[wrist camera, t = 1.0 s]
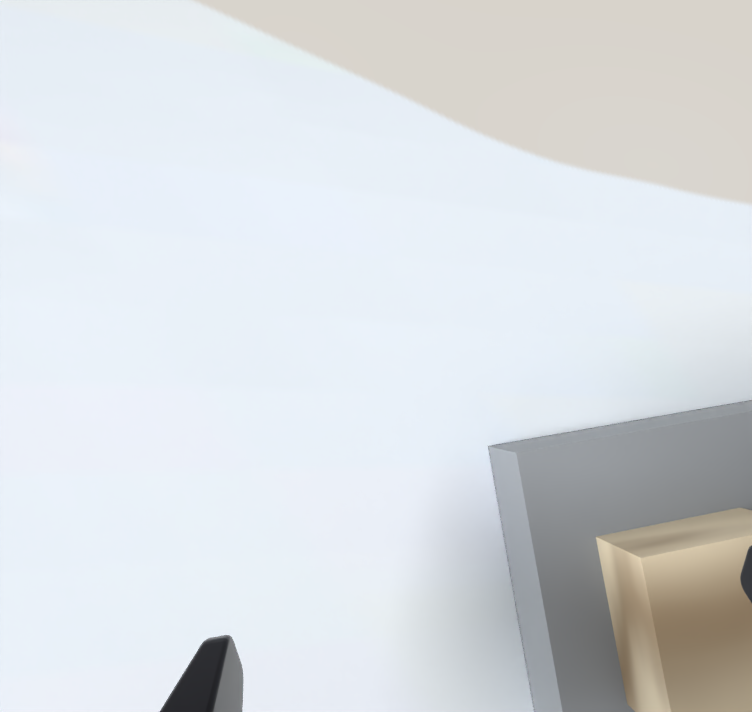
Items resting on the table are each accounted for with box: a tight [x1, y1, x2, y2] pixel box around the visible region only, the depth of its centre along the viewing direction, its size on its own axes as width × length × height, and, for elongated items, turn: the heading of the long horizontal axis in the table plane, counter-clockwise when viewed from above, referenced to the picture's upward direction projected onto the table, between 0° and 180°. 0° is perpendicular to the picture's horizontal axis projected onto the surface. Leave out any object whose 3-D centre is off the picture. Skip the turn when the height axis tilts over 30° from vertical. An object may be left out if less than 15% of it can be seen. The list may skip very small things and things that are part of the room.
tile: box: [596, 508, 752, 712], centre depth 16 cm, size 6×6×2 cm
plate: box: [488, 400, 752, 712], centre depth 19 cm, size 12×14×3 cm
